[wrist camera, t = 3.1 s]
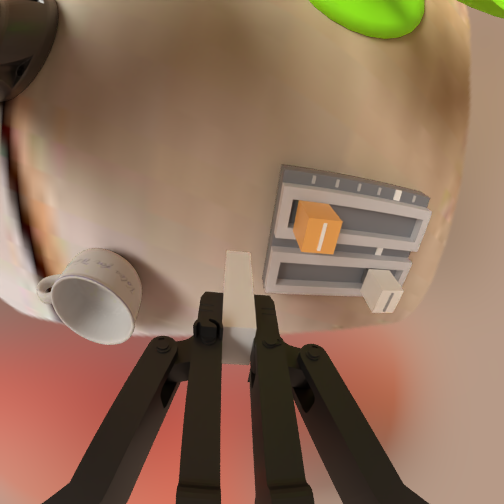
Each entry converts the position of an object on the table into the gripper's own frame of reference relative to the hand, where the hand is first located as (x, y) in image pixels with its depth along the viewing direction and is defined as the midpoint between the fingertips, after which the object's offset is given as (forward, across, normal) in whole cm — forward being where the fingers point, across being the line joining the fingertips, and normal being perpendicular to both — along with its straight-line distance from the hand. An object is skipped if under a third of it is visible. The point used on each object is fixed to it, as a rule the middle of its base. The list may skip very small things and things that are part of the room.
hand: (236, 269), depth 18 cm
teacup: (+13, -17, -10) cm, 24 cm away
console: (+13, +13, -2) cm, 18 cm away
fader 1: (+10, +7, +1) cm, 12 cm away
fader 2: (+11, +17, -6) cm, 21 cm away
